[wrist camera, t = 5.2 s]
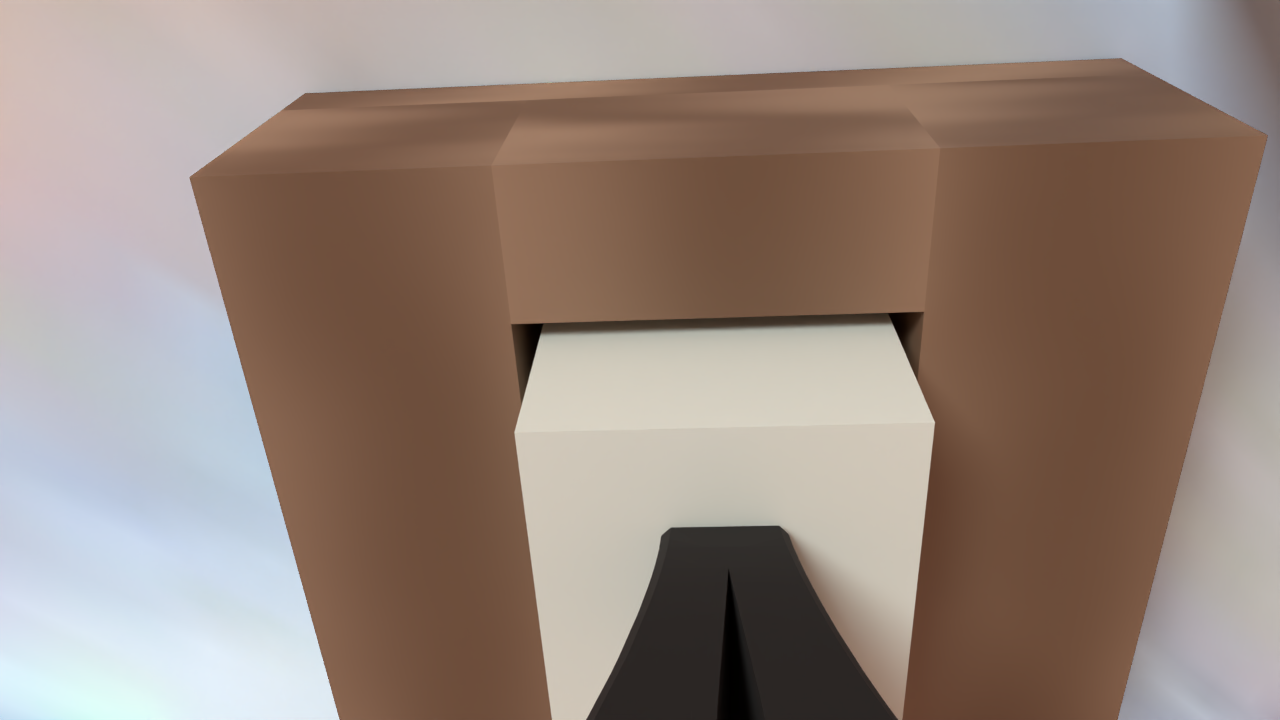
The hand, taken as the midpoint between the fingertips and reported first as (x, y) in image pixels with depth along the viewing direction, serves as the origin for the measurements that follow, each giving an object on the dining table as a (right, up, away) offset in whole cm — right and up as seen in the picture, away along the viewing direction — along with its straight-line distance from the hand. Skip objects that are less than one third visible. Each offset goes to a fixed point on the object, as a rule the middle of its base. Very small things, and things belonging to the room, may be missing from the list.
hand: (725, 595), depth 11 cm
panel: (0, -2, +8) cm, 8 cm away
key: (0, +1, +3) cm, 3 cm away
